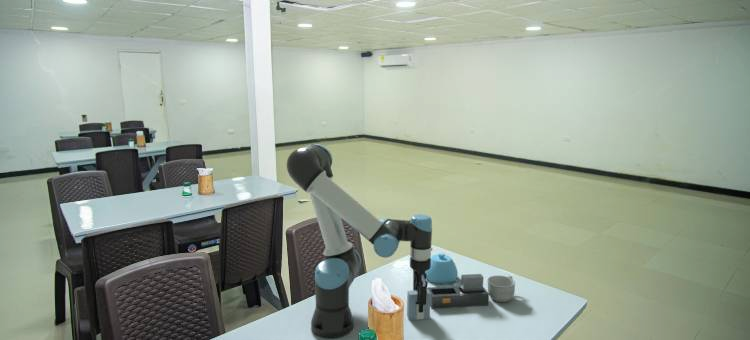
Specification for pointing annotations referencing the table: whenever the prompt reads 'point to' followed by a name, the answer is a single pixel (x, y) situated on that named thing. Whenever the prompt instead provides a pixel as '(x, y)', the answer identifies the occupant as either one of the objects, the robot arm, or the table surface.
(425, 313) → the panel
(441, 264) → the sugar bowl
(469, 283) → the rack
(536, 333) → the table surface
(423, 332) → the table surface
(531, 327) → the table surface
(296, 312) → the table surface
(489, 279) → the teacup
